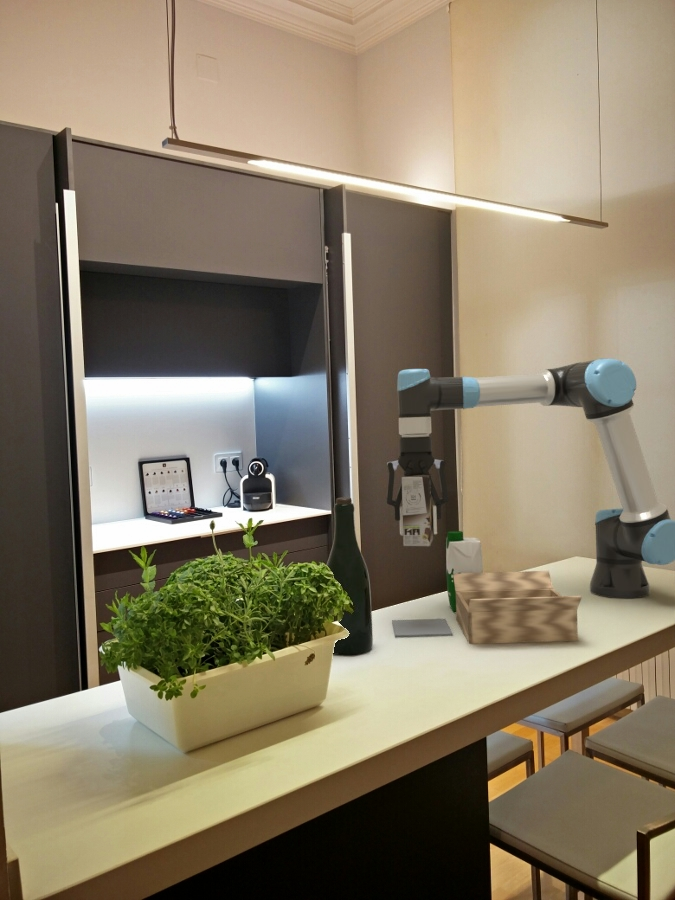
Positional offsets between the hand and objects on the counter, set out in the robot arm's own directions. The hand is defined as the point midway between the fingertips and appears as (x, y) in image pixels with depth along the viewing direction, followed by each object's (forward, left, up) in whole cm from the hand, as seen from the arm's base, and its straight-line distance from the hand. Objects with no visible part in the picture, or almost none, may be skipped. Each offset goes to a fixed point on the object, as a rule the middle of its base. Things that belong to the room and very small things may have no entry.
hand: (418, 533), depth 176 cm
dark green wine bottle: (+17, +14, -23) cm, 32 cm away
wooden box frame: (-21, +3, -22) cm, 31 cm away
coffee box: (0, 0, -2) cm, 2 cm away
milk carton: (-13, -17, -23) cm, 31 cm away
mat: (0, 0, -22) cm, 22 cm away
